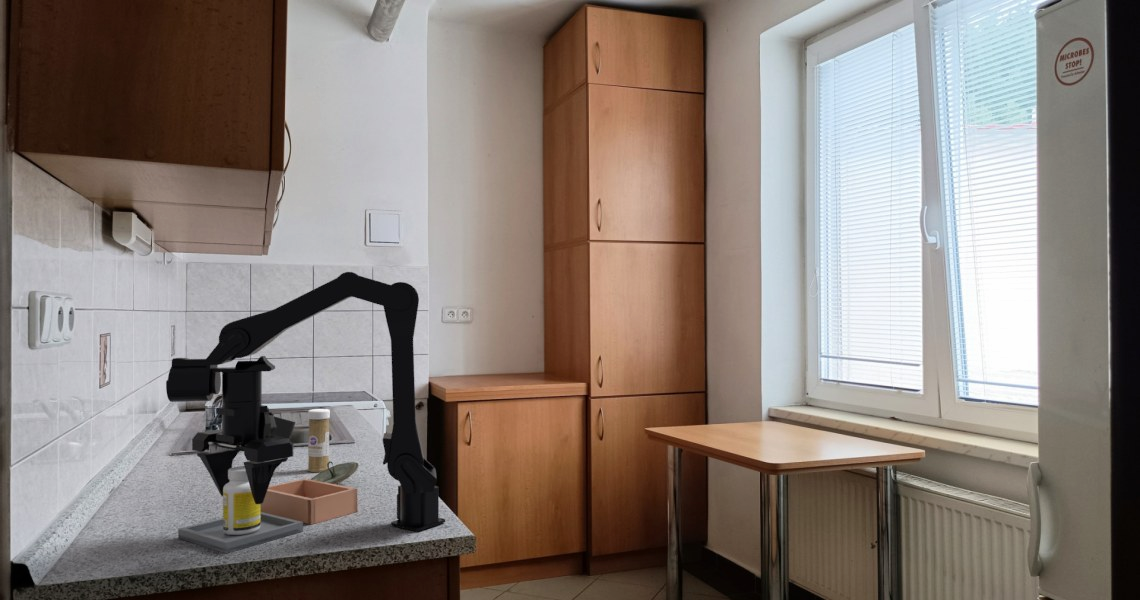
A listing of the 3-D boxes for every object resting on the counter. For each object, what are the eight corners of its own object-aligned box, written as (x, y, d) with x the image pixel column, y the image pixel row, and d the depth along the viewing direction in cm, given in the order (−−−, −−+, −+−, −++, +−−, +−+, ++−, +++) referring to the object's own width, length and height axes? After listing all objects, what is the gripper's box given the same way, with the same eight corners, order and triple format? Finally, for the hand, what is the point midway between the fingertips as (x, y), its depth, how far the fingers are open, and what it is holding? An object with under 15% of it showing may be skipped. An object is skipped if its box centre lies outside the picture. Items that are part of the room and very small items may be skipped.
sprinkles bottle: (304, 472, 164) (304, 410, 164) (312, 468, 168) (312, 408, 168) (325, 472, 164) (325, 410, 164) (332, 468, 168) (332, 408, 168)
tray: (302, 531, 120) (302, 522, 120) (226, 553, 109) (226, 543, 109) (254, 519, 127) (254, 510, 127) (178, 538, 116) (178, 528, 116)
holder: (357, 511, 132) (357, 488, 132) (311, 524, 124) (311, 500, 124) (304, 500, 140) (304, 478, 140) (258, 511, 132) (258, 488, 132)
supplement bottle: (268, 527, 120) (267, 465, 120) (244, 537, 115) (244, 473, 115) (239, 524, 121) (239, 464, 122) (215, 534, 116) (215, 471, 116)
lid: (366, 487, 150) (366, 462, 151) (316, 494, 145) (316, 468, 145) (348, 477, 159) (348, 454, 159) (300, 484, 153) (300, 459, 153)
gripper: (322, 398, 120) (322, 497, 120) (253, 392, 130) (253, 482, 130) (259, 406, 111) (259, 512, 110) (190, 398, 121) (190, 495, 121)
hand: (241, 499), depth 118 cm, fingers open, 9 cm apart
